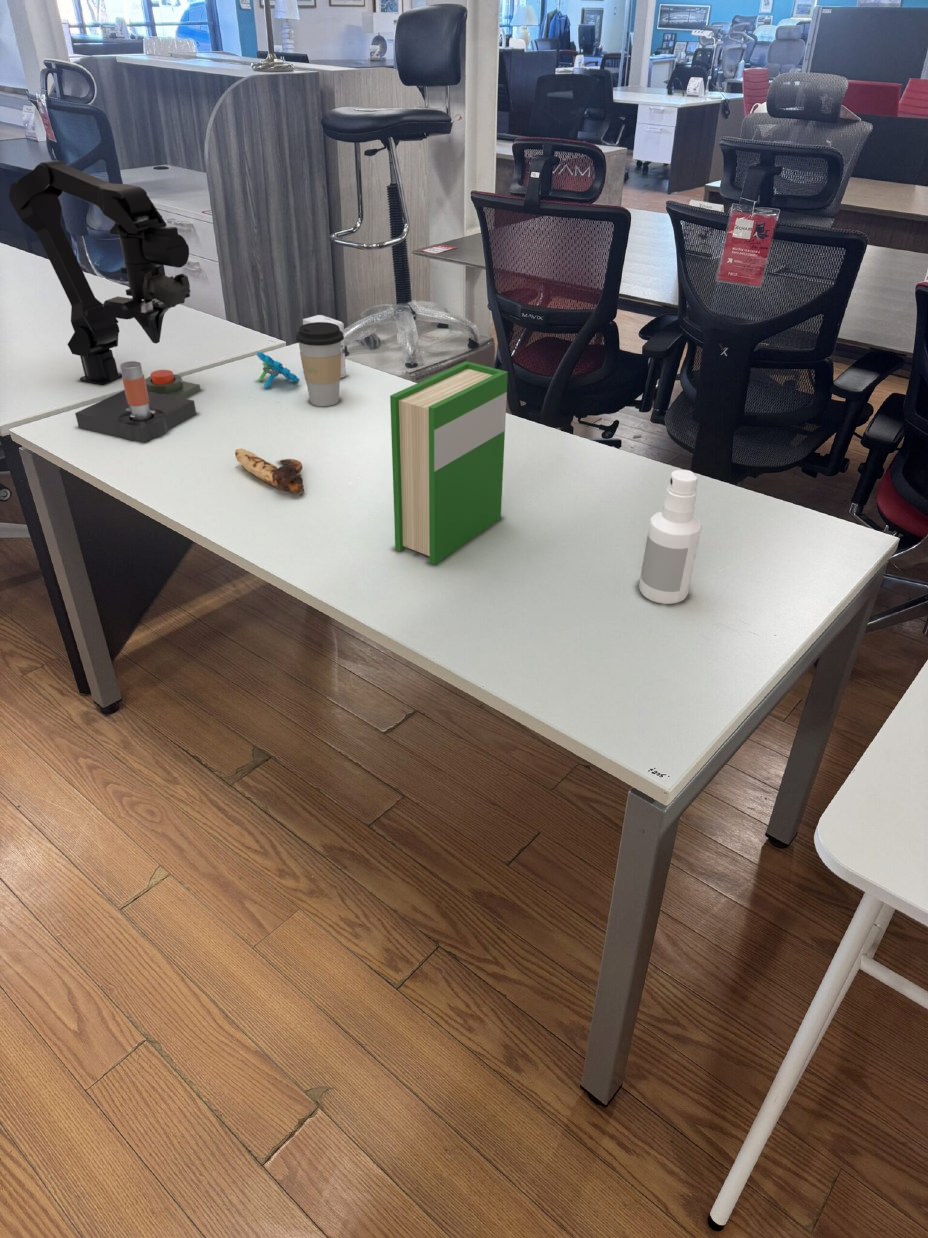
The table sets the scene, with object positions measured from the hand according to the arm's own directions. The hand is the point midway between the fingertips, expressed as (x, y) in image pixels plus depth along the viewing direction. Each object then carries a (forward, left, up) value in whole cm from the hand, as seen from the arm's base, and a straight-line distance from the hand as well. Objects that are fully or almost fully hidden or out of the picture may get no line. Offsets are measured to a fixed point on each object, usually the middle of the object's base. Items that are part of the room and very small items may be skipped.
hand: (156, 342), depth 171 cm
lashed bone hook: (+43, -23, -11) cm, 50 cm away
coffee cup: (+32, +11, -11) cm, 35 cm away
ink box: (+24, +25, -11) cm, 36 cm away
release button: (0, 0, -8) cm, 8 cm away
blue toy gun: (+18, +15, -11) cm, 26 cm away
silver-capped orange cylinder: (+9, -17, -11) cm, 23 cm away
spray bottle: (+112, -30, -11) cm, 116 cm away
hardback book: (+78, -28, -11) cm, 83 cm away
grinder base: (+5, -14, -11) cm, 18 cm away
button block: (0, 0, -11) cm, 11 cm away
